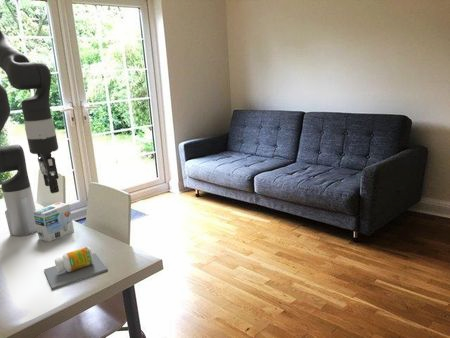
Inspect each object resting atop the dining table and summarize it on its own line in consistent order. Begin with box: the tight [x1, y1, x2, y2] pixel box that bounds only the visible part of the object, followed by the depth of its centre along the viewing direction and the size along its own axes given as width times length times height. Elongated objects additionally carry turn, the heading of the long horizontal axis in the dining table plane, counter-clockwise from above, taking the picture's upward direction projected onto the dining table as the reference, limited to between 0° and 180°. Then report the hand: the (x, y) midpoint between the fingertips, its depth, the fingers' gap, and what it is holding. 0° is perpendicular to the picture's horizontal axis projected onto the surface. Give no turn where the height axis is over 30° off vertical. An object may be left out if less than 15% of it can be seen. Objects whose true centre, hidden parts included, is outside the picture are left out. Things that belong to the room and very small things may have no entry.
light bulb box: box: [33, 201, 75, 243], centre depth 135 cm, size 11×7×11 cm, turn 148°
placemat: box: [43, 252, 109, 291], centre depth 109 cm, size 15×13×1 cm
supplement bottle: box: [54, 246, 94, 273], centre depth 108 cm, size 5×5×10 cm
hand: (52, 188), depth 110 cm, fingers open, 8 cm apart
